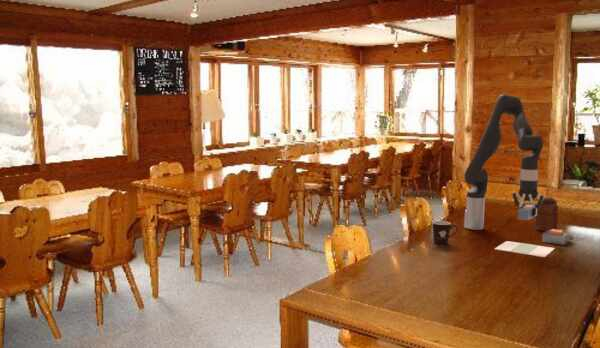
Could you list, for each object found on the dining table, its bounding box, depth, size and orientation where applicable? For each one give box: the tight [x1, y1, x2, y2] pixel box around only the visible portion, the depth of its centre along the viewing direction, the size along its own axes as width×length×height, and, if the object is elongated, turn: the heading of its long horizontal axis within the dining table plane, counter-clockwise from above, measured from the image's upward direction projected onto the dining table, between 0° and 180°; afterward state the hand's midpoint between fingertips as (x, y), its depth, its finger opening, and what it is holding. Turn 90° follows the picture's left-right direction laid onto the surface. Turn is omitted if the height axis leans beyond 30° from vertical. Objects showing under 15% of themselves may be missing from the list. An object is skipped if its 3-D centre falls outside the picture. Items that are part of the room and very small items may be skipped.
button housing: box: [541, 230, 571, 246], centre depth 268 cm, size 10×10×4 cm
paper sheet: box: [494, 240, 556, 258], centre depth 254 cm, size 22×18×1 cm
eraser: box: [517, 204, 537, 221], centre depth 253 cm, size 4×15×4 cm, turn 143°
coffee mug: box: [431, 220, 459, 246], centre depth 264 cm, size 12×9×10 cm
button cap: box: [550, 229, 564, 235], centre depth 268 cm, size 5×5×3 cm
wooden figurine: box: [534, 196, 559, 232], centre depth 290 cm, size 12×6×18 cm, turn 54°
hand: (527, 215), depth 253 cm, fingers closed on eraser, 4 cm apart
